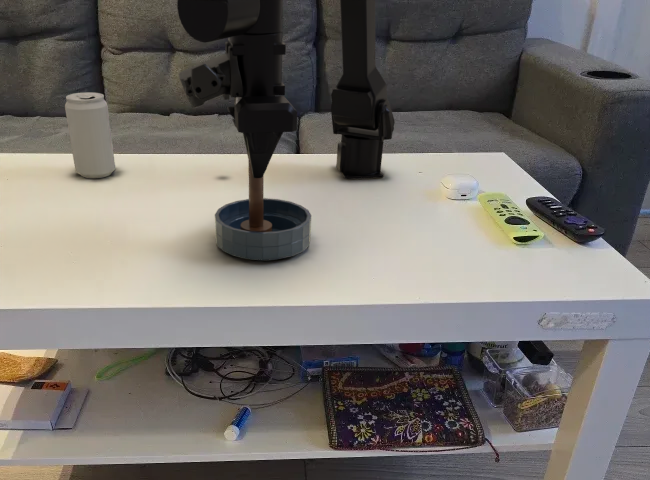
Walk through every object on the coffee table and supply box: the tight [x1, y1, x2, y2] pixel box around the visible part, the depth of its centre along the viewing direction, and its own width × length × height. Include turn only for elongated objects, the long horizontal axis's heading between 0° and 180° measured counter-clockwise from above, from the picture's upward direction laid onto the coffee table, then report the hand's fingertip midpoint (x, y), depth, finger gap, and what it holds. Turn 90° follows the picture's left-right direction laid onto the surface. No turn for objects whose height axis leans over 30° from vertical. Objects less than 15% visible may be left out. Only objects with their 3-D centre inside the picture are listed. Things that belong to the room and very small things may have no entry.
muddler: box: [240, 152, 272, 232], centre depth 82 cm, size 4×4×11 cm
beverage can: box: [64, 91, 116, 179], centre depth 105 cm, size 6×6×12 cm
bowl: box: [214, 197, 312, 262], centre depth 85 cm, size 12×12×4 cm
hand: (256, 174), depth 81 cm, fingers closed on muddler, 2 cm apart
